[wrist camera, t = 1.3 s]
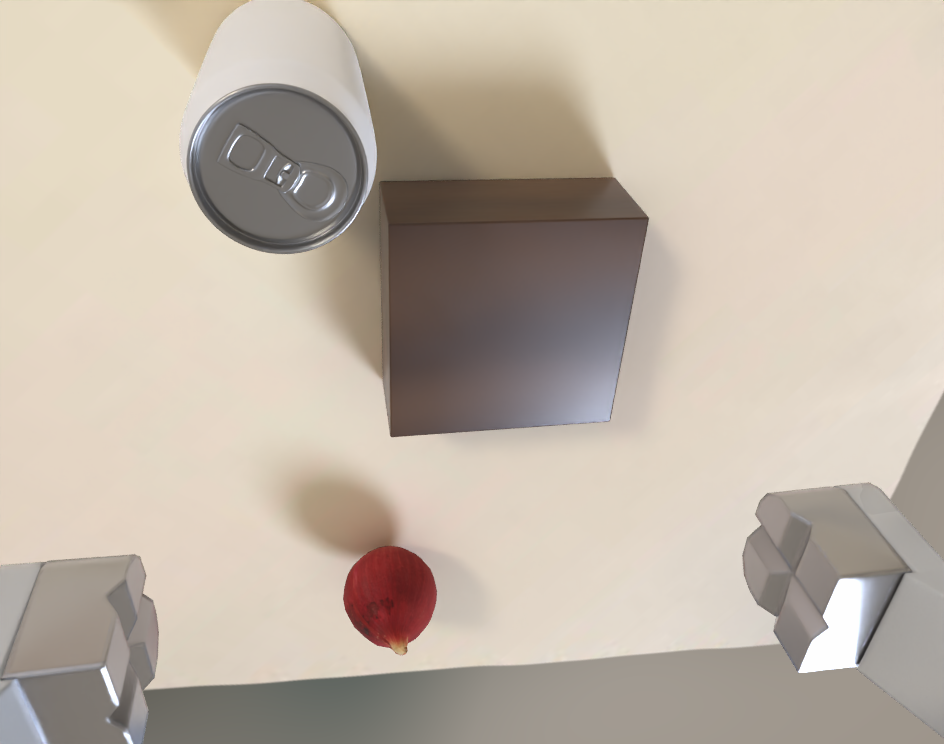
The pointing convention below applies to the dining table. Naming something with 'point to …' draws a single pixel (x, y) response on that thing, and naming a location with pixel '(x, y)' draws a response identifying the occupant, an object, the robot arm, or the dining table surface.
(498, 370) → the brown square block
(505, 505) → the dining table surface
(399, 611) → the onion
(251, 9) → the can
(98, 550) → the dining table surface
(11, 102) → the dining table surface
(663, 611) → the dining table surface
